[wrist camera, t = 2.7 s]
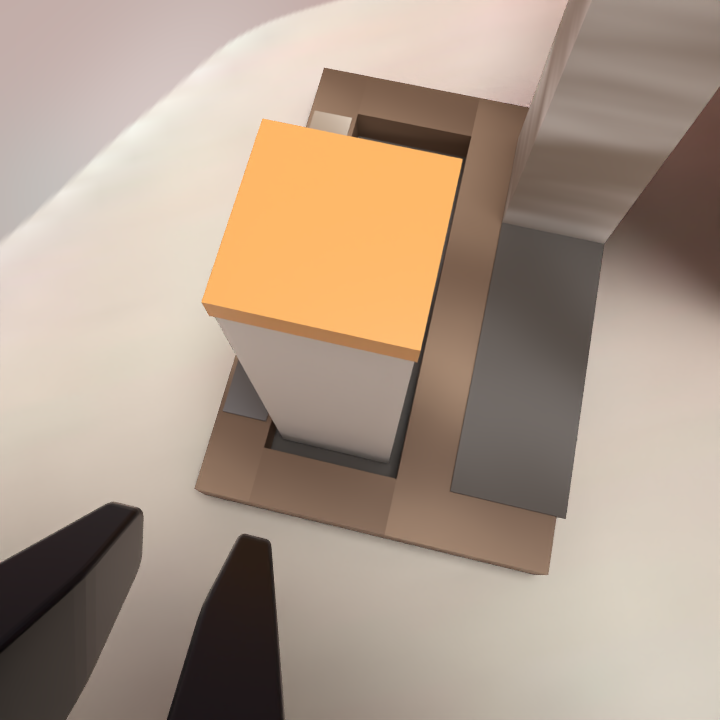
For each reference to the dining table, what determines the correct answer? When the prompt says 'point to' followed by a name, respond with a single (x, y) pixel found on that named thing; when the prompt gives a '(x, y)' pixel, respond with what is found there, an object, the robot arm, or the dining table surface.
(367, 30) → the dining table surface
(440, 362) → the switch board
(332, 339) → the switch tab
